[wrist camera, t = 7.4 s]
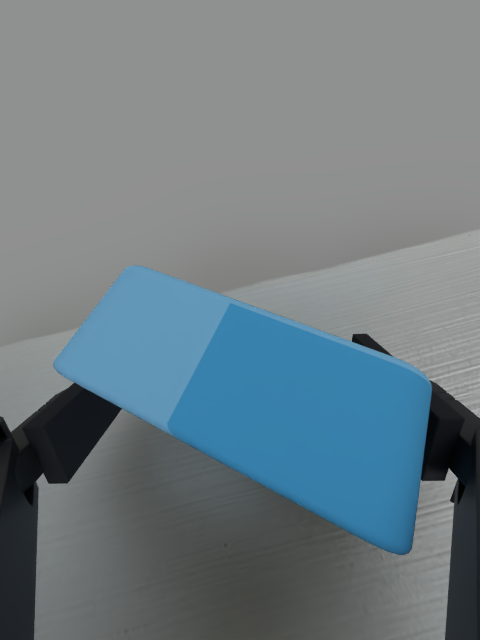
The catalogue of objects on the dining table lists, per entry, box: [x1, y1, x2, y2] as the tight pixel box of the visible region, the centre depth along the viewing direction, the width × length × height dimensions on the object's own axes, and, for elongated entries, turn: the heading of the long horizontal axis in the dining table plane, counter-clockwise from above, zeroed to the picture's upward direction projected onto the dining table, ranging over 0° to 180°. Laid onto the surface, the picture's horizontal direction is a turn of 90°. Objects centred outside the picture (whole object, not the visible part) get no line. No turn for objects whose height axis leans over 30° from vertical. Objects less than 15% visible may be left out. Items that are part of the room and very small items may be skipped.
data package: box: [54, 266, 432, 555], centre depth 12 cm, size 12×4×12 cm, turn 65°
